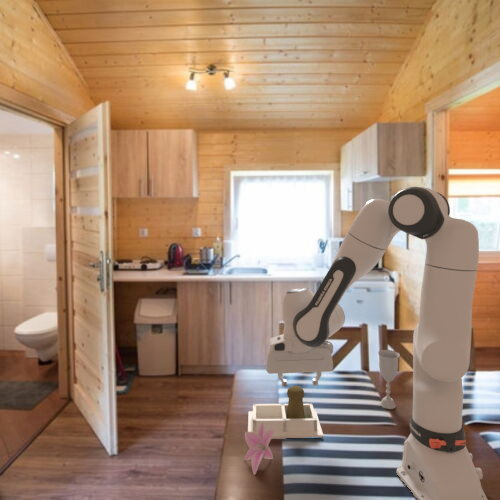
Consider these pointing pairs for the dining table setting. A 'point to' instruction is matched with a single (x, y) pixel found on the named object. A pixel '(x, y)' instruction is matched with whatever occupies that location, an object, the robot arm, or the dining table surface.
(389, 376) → the chalice
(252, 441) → the lily
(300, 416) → the cork
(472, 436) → the dining table surface
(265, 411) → the cream divided tray
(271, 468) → the dining table surface
